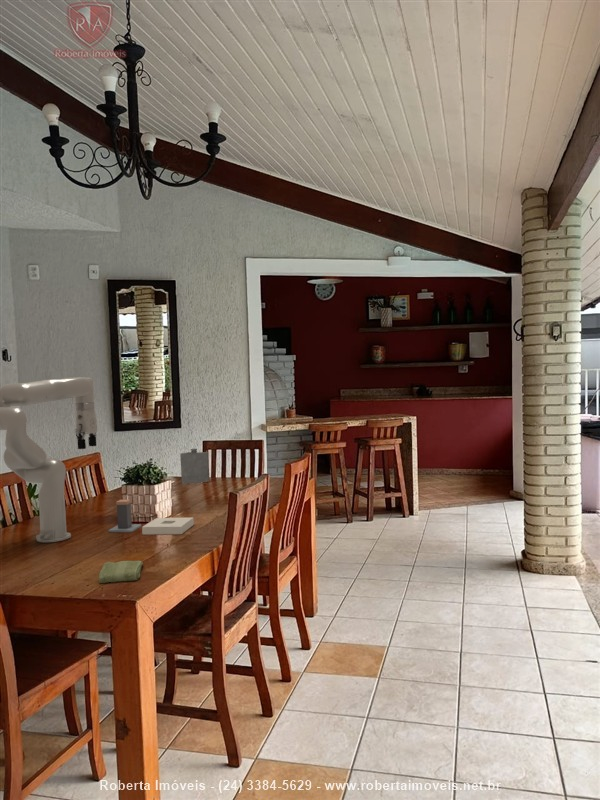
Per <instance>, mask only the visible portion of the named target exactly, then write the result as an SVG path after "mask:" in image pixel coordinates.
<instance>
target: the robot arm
mask: <svg viewBox="0 0 600 800" xmlns="http://www.w3.org/2000/svg"><path fill="white" fill-rule="evenodd" d="M94 395H95V393H94V380H93V379H92V378H91V377H84V376H83V377H82V376H81V377H63V378H60V379H42V380H36V381H30V382H21V383H19V382H17V383H6V384H4V385H1V387H0V431H6V432H5V433H6V434H5V440H4V443H5V444H4V445H5V448H6V449H5V450H4V453H3V461H4V464H5V465H6V467H7V468H8V469H9V470H11V472H14V473H15V474H16V476H18V477H20V478H21V479H22V480H24V481H26V482H28V483H35V484H41V486H40V489H39V491H38V495H37V496H38V497H37V498H38V509H39V511H38V512H39V527H40V530H39V531H40V532H39V534H37V535H35V539H36V542H38V543H44V544H45V543H57V542H62V541H66V540H68V539H71V537H72V534H71V532H67V519H66V518H67V516H66V515H67V514H66V502H65V501H66V499H65V480H66V475H67V473H66V472H67V468H66V465H65V463H64V462H63V461H62V460H60V459H59V458H58V459H57V458H47V453H46V451H45V450H44V449H43V448H42V447H41V446H40V445H38V444H37V442H35V441H34V440H33V439H32V438H31V437H30V436H29V435H28V433H27V423H28V422H27V421H28V420H27V414H26V413H25V411H24V410H23V409H22V408H20V406H21V407H23V406H24V407H25V406H31V405H36V404H42V403H48V402H55V401H60V400H61V401H63V400H66V399H67V400H68V399H74V402H75V403H74V404H75V412H76V417H75V420H76V421H75V422H76V423H75V424H76V425H75V427H76V428H75V430H74V432H75V437H76V440H77V449H78V450H85V449H86V448H87V444H86V435H88V447H96V446H97V432H98V423H97V416H96V410H95V396H94Z"/></svg>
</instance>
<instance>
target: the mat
mask: <svg viewBox="0 0 600 800" xmlns="http://www.w3.org/2000/svg"><path fill="white" fill-rule="evenodd" d="M140 528H142V524H141V523H139V524H137V523H135V524H133V523H132V526H131V527H129V528H126V529H118V524H117V525H115V526H114V527H112V528H110V529H108V530H107V532H108V533H133V532H135V531H137V530H138V529H140Z"/></svg>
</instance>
